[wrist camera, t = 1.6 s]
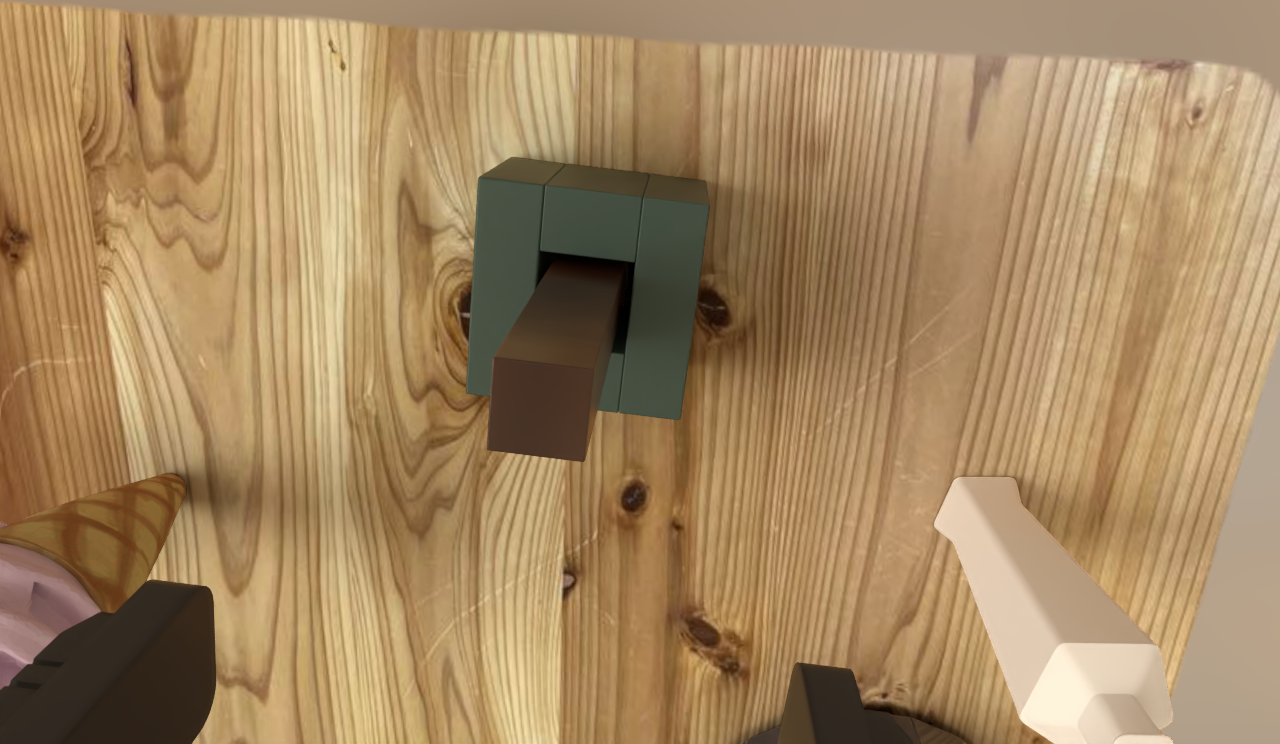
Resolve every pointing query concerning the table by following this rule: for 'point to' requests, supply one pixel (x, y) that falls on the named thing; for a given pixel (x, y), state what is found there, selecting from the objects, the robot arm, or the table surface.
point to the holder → (600, 228)
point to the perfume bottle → (1054, 624)
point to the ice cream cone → (78, 562)
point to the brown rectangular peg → (557, 360)
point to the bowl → (924, 736)
